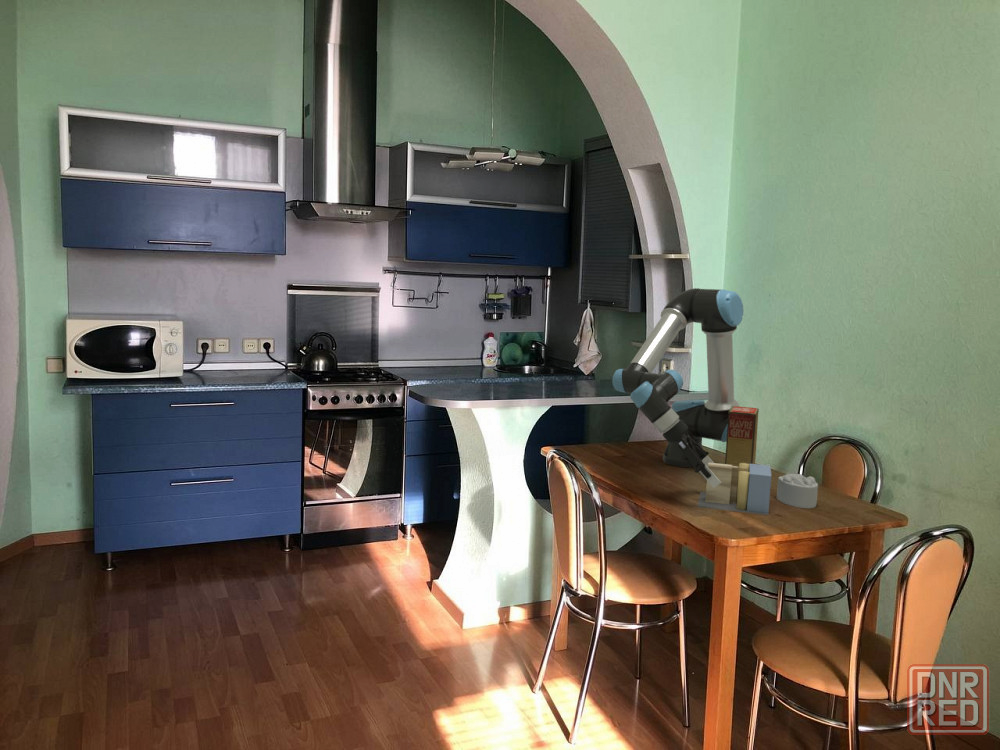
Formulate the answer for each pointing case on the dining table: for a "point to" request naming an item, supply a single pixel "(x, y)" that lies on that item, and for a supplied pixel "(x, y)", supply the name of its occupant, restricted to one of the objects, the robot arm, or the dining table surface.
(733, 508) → the mat
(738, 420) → the food packaging
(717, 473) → the beige block
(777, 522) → the dining table surface
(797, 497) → the lumpy-topped squat cylinder
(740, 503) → the fixed leaf
